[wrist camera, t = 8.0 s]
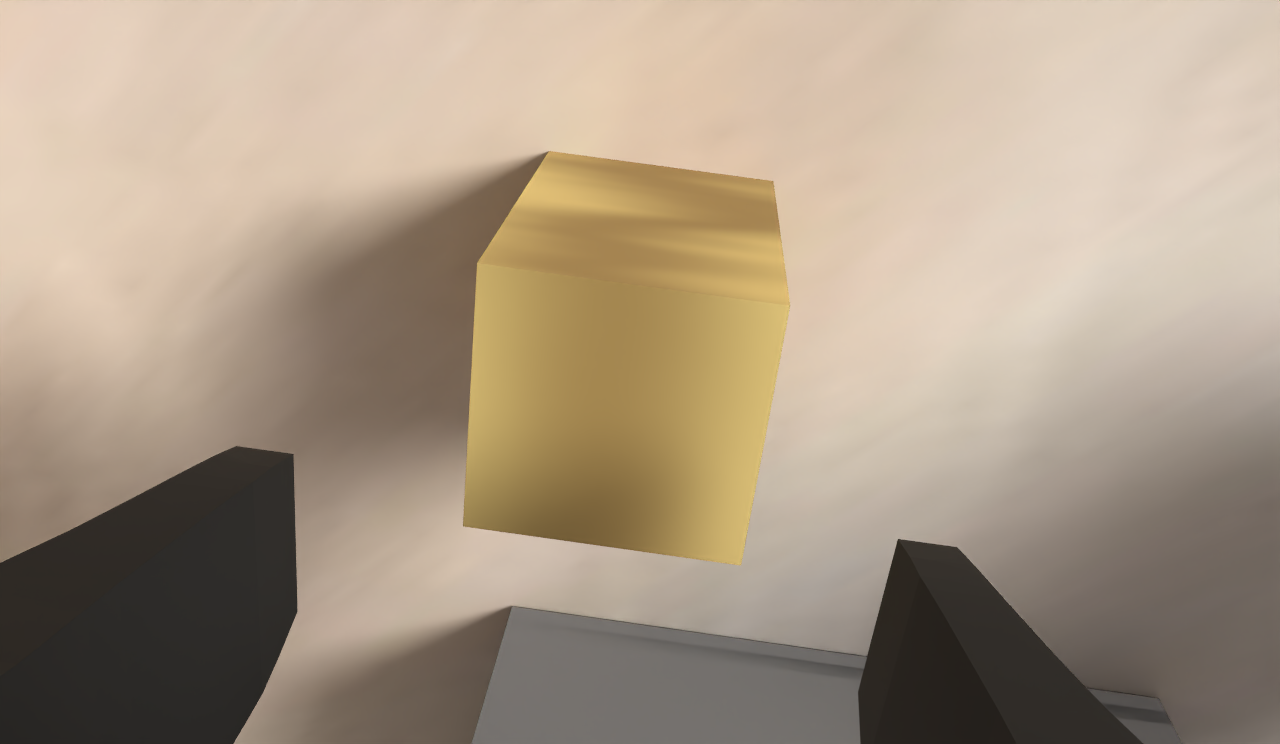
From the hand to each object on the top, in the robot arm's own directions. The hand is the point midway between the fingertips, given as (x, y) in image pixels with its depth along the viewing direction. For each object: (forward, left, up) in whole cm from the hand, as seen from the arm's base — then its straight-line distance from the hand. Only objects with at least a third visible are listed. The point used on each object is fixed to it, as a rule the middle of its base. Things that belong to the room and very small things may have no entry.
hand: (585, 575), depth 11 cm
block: (0, 0, -10) cm, 10 cm away
